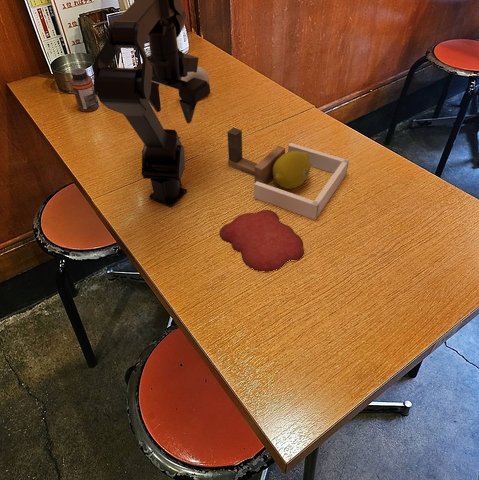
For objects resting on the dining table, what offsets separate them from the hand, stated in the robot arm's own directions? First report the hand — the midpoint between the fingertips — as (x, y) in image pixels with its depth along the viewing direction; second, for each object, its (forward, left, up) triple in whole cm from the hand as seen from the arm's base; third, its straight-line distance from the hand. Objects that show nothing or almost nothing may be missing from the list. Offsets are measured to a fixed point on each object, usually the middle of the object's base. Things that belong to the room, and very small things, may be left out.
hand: (173, 117), depth 105 cm
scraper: (+6, -17, -13) cm, 22 cm away
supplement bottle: (+9, +40, -13) cm, 43 cm away
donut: (+28, +15, -13) cm, 35 cm away
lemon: (+6, -28, -13) cm, 31 cm away
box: (+6, -30, -13) cm, 34 cm away
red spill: (-14, -31, -14) cm, 36 cm away
